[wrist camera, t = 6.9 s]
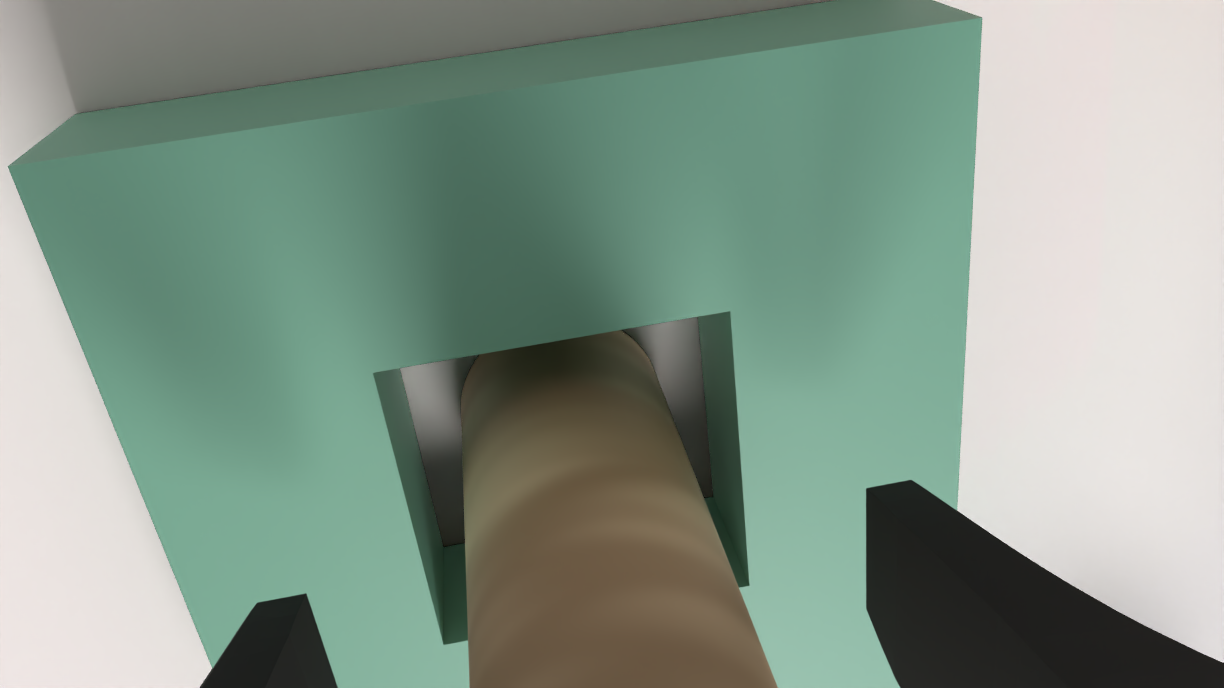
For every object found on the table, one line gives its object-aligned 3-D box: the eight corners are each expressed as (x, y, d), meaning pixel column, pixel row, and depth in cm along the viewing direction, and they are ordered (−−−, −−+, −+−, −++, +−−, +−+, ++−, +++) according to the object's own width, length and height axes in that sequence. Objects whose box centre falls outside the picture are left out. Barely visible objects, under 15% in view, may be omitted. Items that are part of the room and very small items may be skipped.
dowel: (643, 295, 17) (823, 716, 9) (670, 464, 18) (844, 950, 10) (439, 338, 17) (435, 809, 9) (485, 505, 18) (517, 1032, 10)
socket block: (904, -11, 15) (982, 16, 13) (893, 605, 21) (947, 697, 18) (75, 114, 14) (7, 166, 12) (298, 722, 20) (280, 834, 18)
